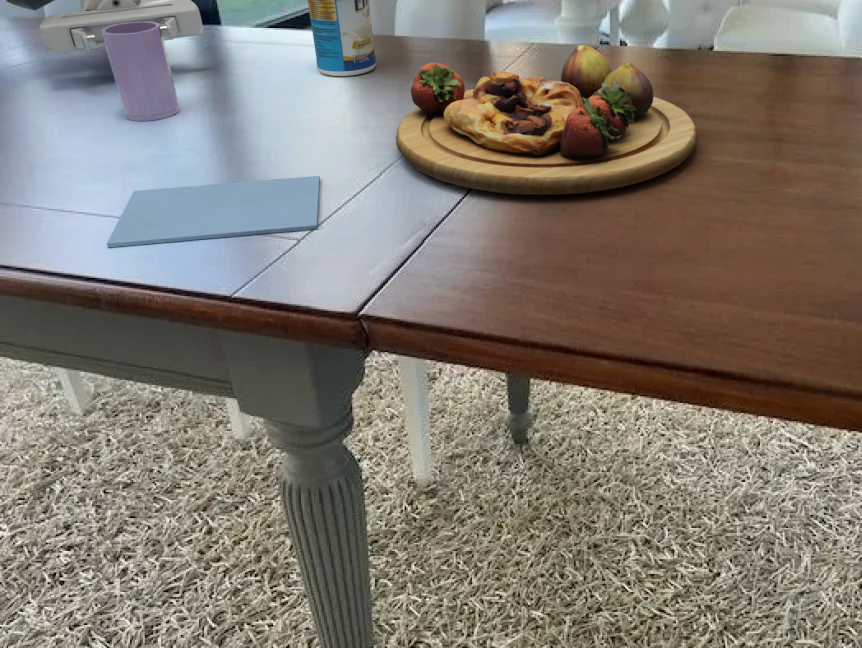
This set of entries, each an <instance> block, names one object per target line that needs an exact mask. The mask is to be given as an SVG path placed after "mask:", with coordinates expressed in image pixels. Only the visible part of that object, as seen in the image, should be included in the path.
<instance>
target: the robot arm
mask: <svg viewBox="0 0 862 648" xmlns="http://www.w3.org/2000/svg"><path fill="white" fill-rule="evenodd" d="M5 1H6V3H9V4H11V5H13V6H16V7H20V8H22V9H26V10H29V11H37V10H39V9H41V8H43V7H45V6H47V5H48V4H51V3H52V2H55V0H5ZM80 8H81V11H75V12H67V13H66V12H65V13H60V14H53V15H49V16H45V18H43V19H42V21H41V22H40V25H39V34H41V36H42V40H43V42H44V45H45V48H46V50H47V52H48V53H51V54H63V53H72V52H78V51H86V52H87V51H93V50H98V49H103V48H105V49H106V46H105V43H104V39H103V36H102V32H101V31H102V30H103V29H104V28H106V27H108V26H111V25H116V24H121V23H128V22H142V21H143V22H155V23H158V24H159V25H160V28H161V32H162V36H163V40H164V42H165V41H172V40H175V39H180V38H181V39H182V38H188V37H198V36H201V35H203V34H204V27H203V26H204V25H203V21H202V16H201V12H200V8H199V7H198V6H197V4H196V3H195V2H194V1H192V0H80Z"/></svg>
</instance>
